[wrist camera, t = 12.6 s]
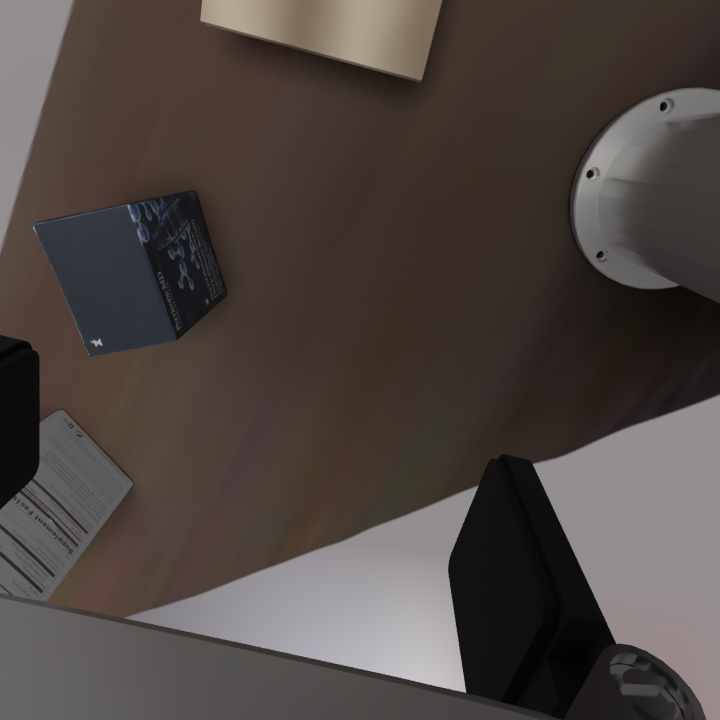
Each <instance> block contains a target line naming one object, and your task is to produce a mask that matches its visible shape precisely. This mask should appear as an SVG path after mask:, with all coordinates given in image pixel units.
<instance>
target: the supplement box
mask: <svg viewBox="0 0 720 720" xmlns="http://www.w3.org/2000/svg"><path fill="white" fill-rule="evenodd" d="M132 486H133V482H132V481H131V480H130V479H129V478H128V477H127V476H126V475H125V474H124V473H123V472H122V470H121V469H120V468H119V467H118V466H117V465H116V464H115V463H114V462H113V461H112V460H111V459H110V458H109V457H108V456H107V455H106V454H105V453H104V452H103V451H102V449H101V448H100V447H99V446H98V445H97V444H96V443H95V442H94V441H93V440H92V439H91V438H90V437H89V436H88V435H87V434H86V433H85V432H84V431H83V430H82V429H81V428H80V426H79V425H78V424H77V423H76V422H75V421H74V420H73V419H72V418H71V417H70V416H69V415H68V414H67V413H66V412H65V411H64V410H62V409H61V410H58V411H57V412H55V413H53V414H52V415H50V416H49V417H47V418H46V419H44V420H43V421H41V422H40V463H39V468H38V471H37V473H36V475H35V476H34V478H33V479H32V480H31V481H30V482H29V483H28V484H27V485H26V486H25V487H24V488H23V489H22V490H21V491H20V492H19V493H18V494H17V495H15V496H14V497H13V498H12V499H11V500H10V501H9V502H8V503H7V504H6V505H5V506H4V507H3V508H2V509H1V510H0V593H5V594H9V595H14V596H19V597H24V598H29V599H34V600H39V601H44V602H47V600H48V599H49V598H50V596H51V595H52V593H53V592H54V591H55V589H56V588H57V587H58V585H59V584H60V583H61V581H62V580H63V579H64V577H65V576H66V575H67V573H68V572H69V571H70V569H71V568H72V567H73V565H74V564H75V563H76V561H77V560H78V559H79V557H80V556H81V554H82V553H83V552H84V550H85V549H86V548H87V546H88V545H89V544H90V542H91V541H92V540H93V538H94V537H95V536H96V534H97V533H98V532H99V530H100V529H101V528H102V526H103V525H104V524H105V522H106V521H107V520H108V518H109V517H110V515H111V514H112V513H113V511H114V510H115V509H116V507H117V506H118V505H119V503H120V502H121V501H122V499H123V498H124V497H125V495H126V494H127V493H128V491H129V490H130V488H131V487H132Z"/></svg>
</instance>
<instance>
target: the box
mask: <svg viewBox="0 0 720 720" xmlns="http://www.w3.org/2000/svg"><path fill="white" fill-rule="evenodd" d="M33 229H34V231H35V232H36V234H37V236H38V238H39V240H40V242H41V244H42V246H43V249H44V251H45V253H46V255H47V257H48V259H49V262H50V264H51V267H52V269H53V271H54V273H55V276H56V278H57V280H58V282H59V285H60V287H61V289H62V292H63V294H64V296H65V298H66V301H67V304H68V306H69V308H70V311H71V313H72V315H73V318H74V320H75V323H76V325H77V327H78V330H79V332H80V335H81V337H82V339H83V342H84V345H85V347H86V350H87V352H88V354H89V356H90V357H96V356H100V355H105V354H110V353H116V352H121V351H126V350H132V349H137V348H142V347H148V346H153V345H158V344H163V343H168V342H174V341H177V340H178V339H179V338H180V337H181V336H183V335H184V334H185V333H186V332H187V331H188V330H189V329H190V328H191V327H192V326H194V325H195V324H196V323H197V322H198V321H199V320H200V319H201V318H202V317H203V316H204V315H206V314H207V313H208V312H209V311H210V310H211V309H213V308H214V307H215V306H216V305H217V304H218V303H219V302H220V301H221V300H222V299H223V298H225V297H226V295H227V293H226V290H225V287H224V284H223V281H222V277H221V274H220V271H219V267H218V264H217V261H216V258H215V255H214V252H213V248H212V245H211V241H210V238H209V235H208V232H207V228H206V225H205V222H204V219H203V214H202V211H201V208H200V205H199V201H198V198H197V194H196V192H195V191H187V192H182V193H177V194H172V195H167V196H162V197H157V198H152V199H147V200H141V201H136V202H131V203H126V204H121V205H116V206H111V207H106V208H101V209H97V210H92V211H87V212H82V213H78V214H73V215H68V216H63V217H59V218H54V219H49V220H44V221H40V222H37V223H35V224H34V226H33Z"/></svg>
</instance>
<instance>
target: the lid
mask: <svg viewBox="0 0 720 720" xmlns="http://www.w3.org/2000/svg"><path fill="white" fill-rule="evenodd" d="M441 3H442V0H202V9H201V19H200V21H201V22H203V23H204V24H206V25H208V26H212V27H215V28H219V29H223V30H226V31H230V32H234V33H238V34H241V35H245V36H249V37H252V38H256V39H260V40H264V41H267V42H271V43H275V44H278V45H282V46H286V47H290V48H293V49H297V50H301V51H304V52H308V53H312V54H316V55H319V56H323V57H327V58H330V59H334V60H338V61H342V62H345V63H349V64H353V65H356V66H360V67H364V68H368V69H371V70H375V71H379V72H383V73H386V74H390V75H394V76H397V77H401V78H405V79H409V80H412V81H416V82H420V83H421V81H422V78H423V74H424V70H425V66H426V62H427V58H428V54H429V50H430V46H431V42H432V38H433V34H434V30H435V26H436V22H437V19H438V15H439V11H440V7H441Z"/></svg>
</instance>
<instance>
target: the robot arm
mask: <svg viewBox="0 0 720 720" xmlns="http://www.w3.org/2000/svg"><path fill="white" fill-rule="evenodd" d="M661 103H663V105H664V107H663V110H662V111H660V104H661ZM588 170H591V172H592V175H591V176H590V177H589V178H587V177H586V174H587V172H588ZM569 213H570V220H571V228H572V232H573V235H574V237H575V240H576V243H577V246H578V247H579V249H580V250H581V252H582V254H583V255H584V257H585V258H586V260H587V261H588V262H589V263H590V264H591V265H592V266H593V267H594V268H595V269H596V270H598V271H599V272H601V273H602V274H604V275H605V276H607V277H608V278H610V279H612V280H614V281H616V282H618V283H621V284H623V285H627V286H631V287H634V288H638V289H655V290H656V289H664V288H672V287H676V286H680V285H681V286H683V287H685V288H687V289H690V290H692V291H694V292H696V293H698V294H700V295H703V296H705V297H707V298H709V299H711V300H713V301H715V302H718V303H720V90H714V89H708V88H702V87H701V88H683V89H677V90H672V91H667V92H663V93H660V94H657V95H654V96H652V97H649V98H646V99H644V100H642V101H640V102H638V103H637V104H635V105H633V106H631V107H630V108H628V109H626V110H625V111H623V112H622V113H621V114H620V115H618V116H617V117H616V118H615V119H614V120H612V121H611V122H610V123H609V124H608V125H607V126H606V127H605V128H604V129H603V130H602V131H601V133H600V134H599V135H598V136H597V137H596V138H595V139H594V141H593V142H592V144H591V145H590V147H589V149H588V150H587V152H586V153H585V155H584V156H583V158H582V161H581V163H580V165H579V168H578V170H577V172H576V174H575V178H574V182H573V186H572V190H571V194H570V211H569ZM599 251H601V255H600V256H599V257H596V255H597V253H598V252H599ZM39 463H40V397H39V355H38V353H37V352H36V351H34V350H32V347H31V344H30V343H28V342H27V341H23V340H19V339H14V338H10V337H6V336H2V335H0V510H1V509H2V508H3V507H4V506H5V505H6V504H7V503H8V502H9V501H10V500H11V499H12V498H13V497H14V496H15V495H17V494H18V493H19V492H20V491H21V490H22V489H23V488H24V487H25V486H26V485H27V484H28V483H29V482H30V481H31V480H32V479H33V478H34V476H35V475H36V473H37V471H38V468H39ZM448 573H449V579H450V587H451V594H452V600H453V607H454V614H455V620H456V627H457V634H458V640H459V647H460V654H461V661H462V667H463V674H464V681H465V687H466V693H464V692H459V691H455V690H450V689H446V688H442V687H437V686H433V685H428V684H424V683H419V682H415V681H411V680H407V679H402V678H398V677H394V676H389V675H385V674H380V673H376V672H371V671H366V670H362V669H357V668H353V667H348V666H344V665H338V664H334V663H330V662H325V661H321V660H316V659H311V658H307V657H302V656H298V655H293V654H288V653H284V652H279V651H275V650H270V649H265V648H261V647H256V646H252V645H247V644H242V643H237V642H232V641H228V640H223V639H219V638H214V637H209V636H205V635H200V634H195V633H191V632H185V631H181V630H176V629H172V628H167V627H162V626H157V625H153V624H148V623H144V622H139V621H134V620H129V619H124V618H120V617H115V616H110V615H105V614H101V613H96V612H91V611H86V610H82V609H77V608H72V607H67V606H63V605H58V604H53V603H48V602H44V601H39V600H34V599H29V598H24V597H19V596H14V595H9V594H5V593H0V720H706V717H705V715H704V712H703V709H702V706H701V704H700V702H699V701H698V699H697V698H696V696H695V694H694V693H693V691H692V690H691V688H690V687H689V686H688V685H687V684H686V683H685V682H684V680H683V679H682V678H681V677H680V676H679V675H678V674H677V673H676V672H675V671H674V670H673V669H671V668H670V667H669V666H667V664H665V663H664V662H663V661H662V660H660V659H658V658H656V657H655V656H653V655H652V654H650V653H648V652H647V651H644V650H642V649H639V648H637V647H634V646H632V645H625V644H616V642H615V640H614V638H613V636H612V634H611V632H610V629H609V628H608V625H607V623H606V621H605V618H604V616H603V614H602V612H601V610H600V608H599V606H598V603H597V601H596V599H595V597H594V595H593V593H592V591H591V588H590V586H589V584H588V582H587V580H586V578H585V576H584V573H583V571H582V570H581V567H580V565H579V563H578V561H577V558H576V556H575V554H574V552H573V550H572V548H571V546H570V543H569V541H568V539H567V537H566V535H565V533H564V531H563V529H562V526H561V524H560V522H559V520H558V518H557V516H556V513H555V511H554V509H553V507H552V505H551V503H550V501H549V498H548V496H547V494H546V492H545V490H544V488H543V486H542V483H541V481H540V479H539V477H538V475H537V473H536V471H535V468H534V466H533V464H532V463H531V461H530V460H527V459H522V458H518V457H514V456H510V455H505V454H502V455H500V457H499V458H498V460H497V459H491V460H490V461H489V462H488V464H487V467H486V469H485V471H484V474H483V476H482V479H481V481H480V484H479V486H478V489H477V491H476V494H475V496H474V499H473V501H472V504H471V506H470V508H469V511H468V514H467V516H466V518H465V521H464V523H463V526H462V528H461V531H460V533H459V536H458V538H457V541H456V543H455V546H454V549H453V551H452V553H451V556H450V560H449V566H448Z"/></svg>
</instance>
